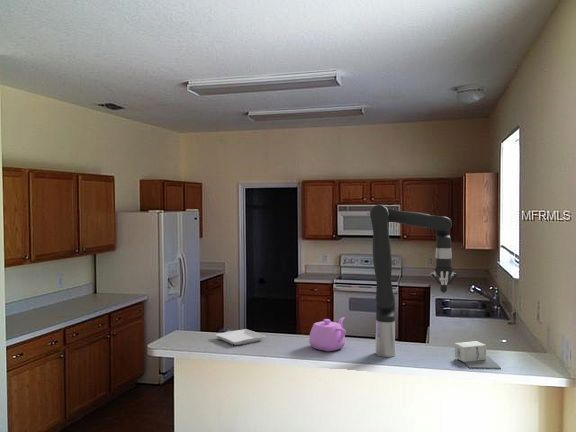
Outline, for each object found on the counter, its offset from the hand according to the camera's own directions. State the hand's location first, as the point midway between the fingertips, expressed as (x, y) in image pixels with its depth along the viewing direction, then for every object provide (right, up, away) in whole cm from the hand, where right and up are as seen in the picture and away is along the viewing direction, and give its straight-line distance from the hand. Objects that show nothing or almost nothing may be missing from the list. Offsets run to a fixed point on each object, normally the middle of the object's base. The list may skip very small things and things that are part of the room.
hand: (443, 292), depth 240 cm
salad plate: (-103, -33, +34) cm, 113 cm away
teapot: (-55, -32, +18) cm, 67 cm away
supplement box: (+5, -28, -6) cm, 29 cm away
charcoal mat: (+14, -32, -8) cm, 36 cm away
